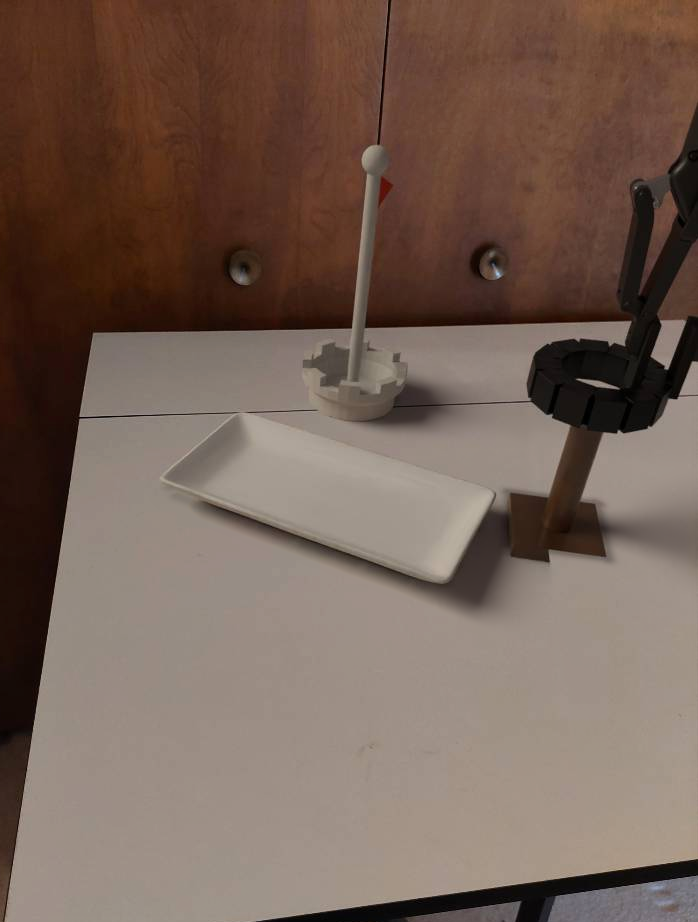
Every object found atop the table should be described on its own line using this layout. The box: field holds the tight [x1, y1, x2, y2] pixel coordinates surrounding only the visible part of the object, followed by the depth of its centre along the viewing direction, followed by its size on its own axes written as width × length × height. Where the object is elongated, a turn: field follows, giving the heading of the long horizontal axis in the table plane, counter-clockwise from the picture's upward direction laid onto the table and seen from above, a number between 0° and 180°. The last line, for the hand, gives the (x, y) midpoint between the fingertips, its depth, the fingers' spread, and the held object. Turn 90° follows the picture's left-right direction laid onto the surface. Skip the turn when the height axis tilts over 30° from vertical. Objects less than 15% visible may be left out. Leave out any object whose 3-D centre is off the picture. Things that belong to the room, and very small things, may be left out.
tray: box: [159, 411, 497, 585], centre depth 83 cm, size 17×32×4 cm, turn 63°
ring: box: [525, 338, 674, 435], centre depth 72 cm, size 12×12×3 cm
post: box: [506, 424, 607, 562], centre depth 78 cm, size 9×9×14 cm
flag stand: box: [301, 144, 409, 422], centre depth 93 cm, size 13×13×30 cm
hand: (650, 388), depth 71 cm, fingers closed on ring, 3 cm apart
